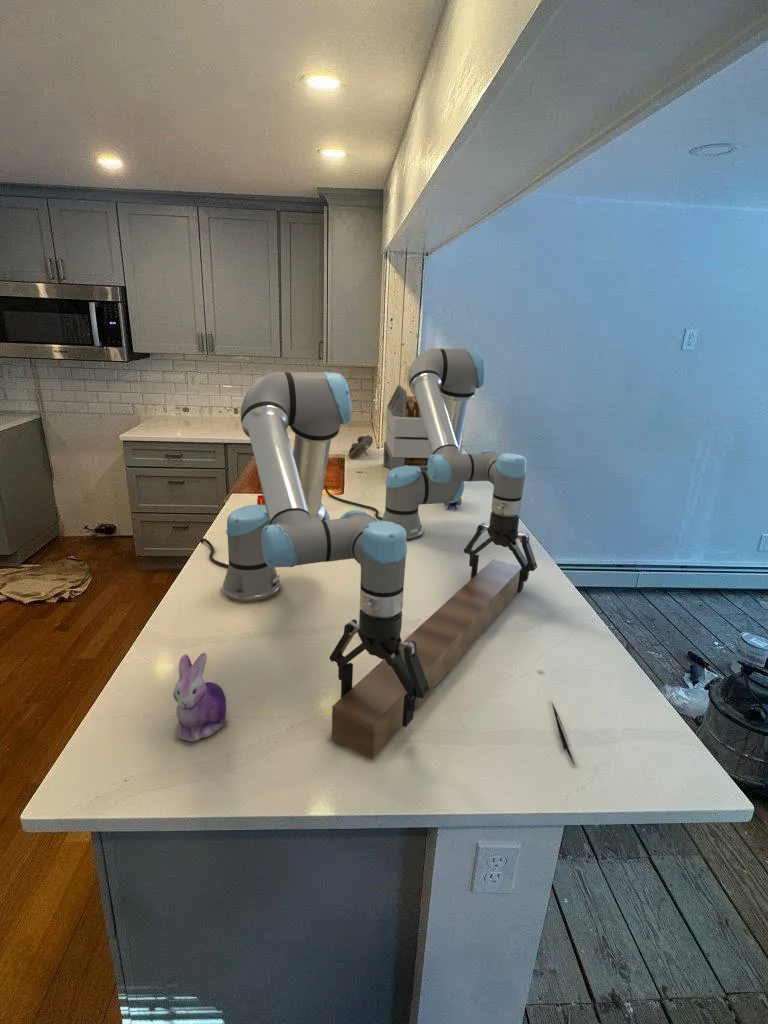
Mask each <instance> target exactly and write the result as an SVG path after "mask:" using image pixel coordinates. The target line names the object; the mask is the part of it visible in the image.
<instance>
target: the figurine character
mask: <svg viewBox="0 0 768 1024" xmlns="http://www.w3.org/2000/svg"><path fill="white" fill-rule="evenodd" d="M461 505H462V497H461V498H460V499H459V500H458V501H456V502H454V503H447V504H445V506H447V509H448V510H451V508H453V507H454V510H457V509H458V507H459V506H461ZM450 507H451V508H450Z"/></svg>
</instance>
